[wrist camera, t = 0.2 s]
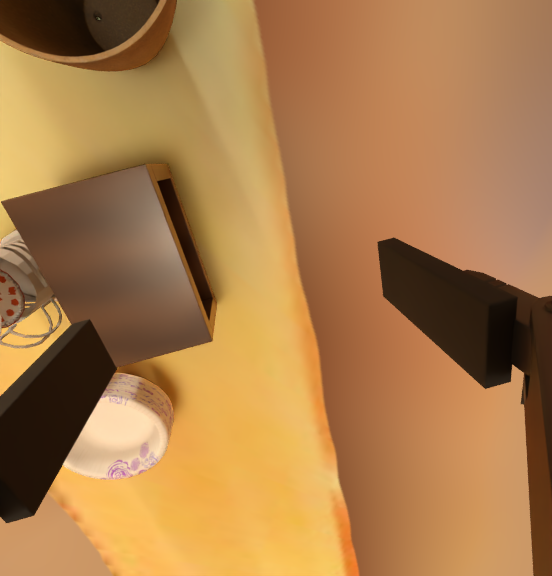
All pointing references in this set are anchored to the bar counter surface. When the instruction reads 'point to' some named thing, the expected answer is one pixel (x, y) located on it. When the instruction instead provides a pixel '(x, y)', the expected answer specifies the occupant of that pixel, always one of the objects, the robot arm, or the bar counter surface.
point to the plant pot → (88, 30)
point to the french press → (21, 288)
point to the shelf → (121, 260)
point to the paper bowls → (123, 430)
